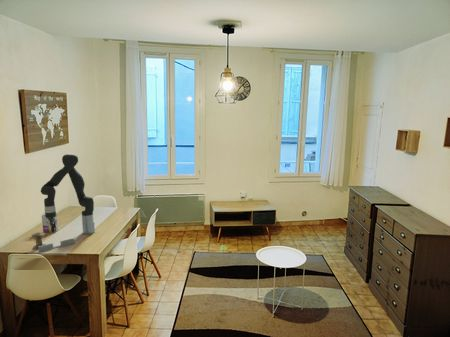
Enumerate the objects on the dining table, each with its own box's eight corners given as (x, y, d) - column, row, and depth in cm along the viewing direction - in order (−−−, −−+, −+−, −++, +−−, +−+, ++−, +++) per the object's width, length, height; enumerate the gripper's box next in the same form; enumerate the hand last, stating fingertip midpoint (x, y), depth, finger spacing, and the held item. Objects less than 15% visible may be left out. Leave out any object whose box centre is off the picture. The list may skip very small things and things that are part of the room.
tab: (54, 231, 259) (53, 222, 257) (55, 233, 256) (54, 223, 254) (49, 232, 256) (48, 223, 255) (50, 234, 253) (49, 224, 252)
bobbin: (44, 244, 266) (43, 231, 264) (47, 247, 259) (45, 234, 257) (32, 246, 260) (30, 234, 258) (34, 250, 253) (33, 237, 251)
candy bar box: (58, 230, 296) (56, 213, 293) (56, 232, 292) (54, 214, 289) (45, 230, 295) (43, 213, 292) (43, 232, 290) (41, 215, 287)
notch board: (73, 242, 270) (73, 238, 269) (74, 243, 268) (74, 239, 267) (38, 251, 253) (38, 246, 252) (39, 251, 252) (38, 247, 251)
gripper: (57, 212, 250) (59, 233, 253) (53, 207, 260) (55, 227, 264) (47, 214, 245) (49, 235, 248) (42, 209, 255) (45, 229, 259)
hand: (52, 231), depth 256 cm, fingers closed on tab, 4 cm apart
